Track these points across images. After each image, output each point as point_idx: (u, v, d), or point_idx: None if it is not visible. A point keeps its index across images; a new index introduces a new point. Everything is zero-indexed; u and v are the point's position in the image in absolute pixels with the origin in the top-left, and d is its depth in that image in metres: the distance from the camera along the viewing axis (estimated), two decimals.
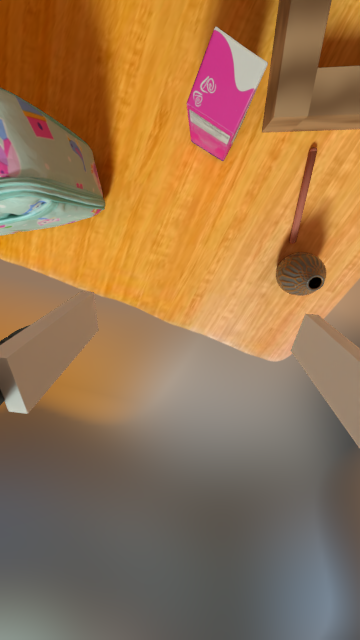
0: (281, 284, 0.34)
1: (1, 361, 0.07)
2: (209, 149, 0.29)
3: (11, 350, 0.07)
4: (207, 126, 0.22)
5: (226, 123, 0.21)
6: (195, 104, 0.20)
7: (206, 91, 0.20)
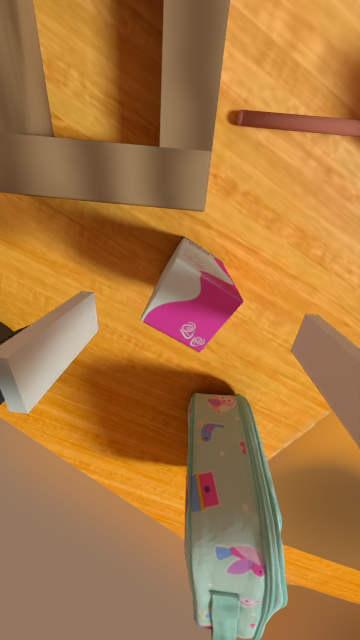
0: None
1: (1, 361, 0.07)
2: None
3: (11, 350, 0.07)
4: None
5: (229, 310, 0.15)
6: (202, 344, 0.16)
7: (192, 332, 0.16)
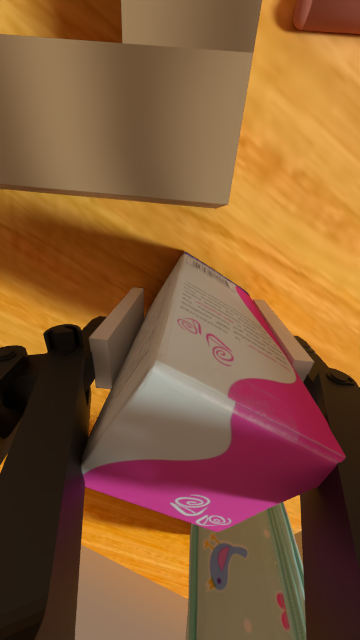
0: None
1: (102, 342, 0.08)
2: None
3: (107, 334, 0.08)
4: None
5: (307, 483, 0.05)
6: (224, 524, 0.07)
7: (203, 508, 0.06)
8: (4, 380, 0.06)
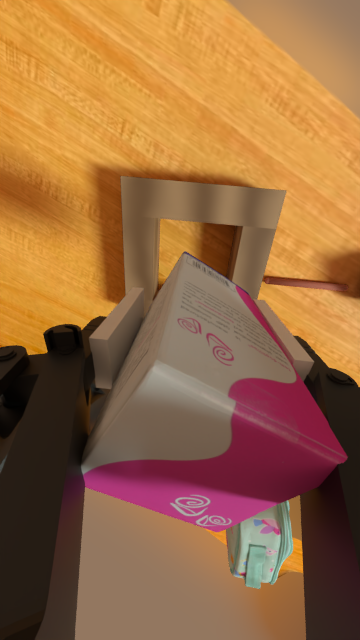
0: None
1: (102, 342, 0.08)
2: None
3: (107, 334, 0.08)
4: None
5: (308, 483, 0.05)
6: (224, 524, 0.07)
7: (203, 509, 0.06)
8: (4, 380, 0.06)
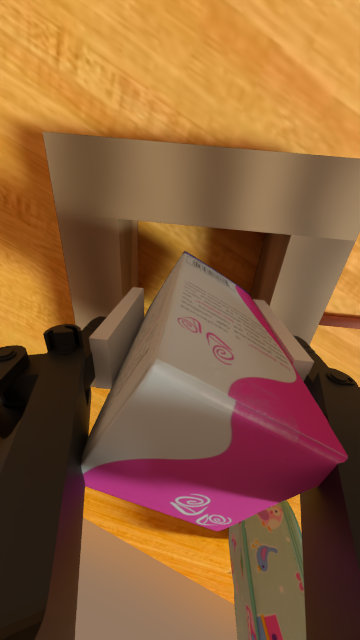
0: None
1: (102, 342, 0.08)
2: None
3: (107, 334, 0.08)
4: None
5: (308, 482, 0.05)
6: (224, 523, 0.07)
7: (203, 508, 0.06)
8: (4, 380, 0.06)
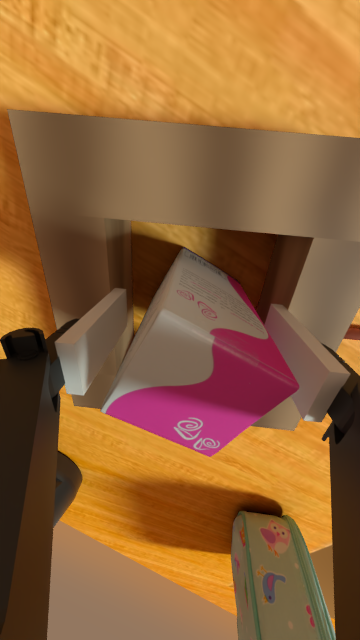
0: None
1: (68, 347, 0.08)
2: None
3: (75, 338, 0.08)
4: None
5: (270, 402, 0.07)
6: (214, 447, 0.09)
7: (198, 432, 0.09)
8: None
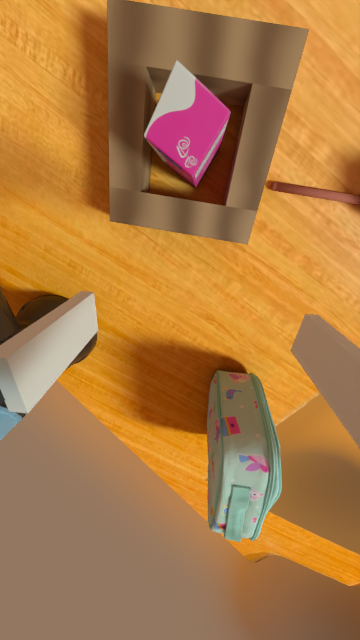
0: None
1: (1, 361, 0.07)
2: (209, 163, 0.27)
3: (11, 350, 0.07)
4: (208, 154, 0.20)
5: (218, 122, 0.18)
6: (194, 165, 0.19)
7: (187, 149, 0.19)
8: None
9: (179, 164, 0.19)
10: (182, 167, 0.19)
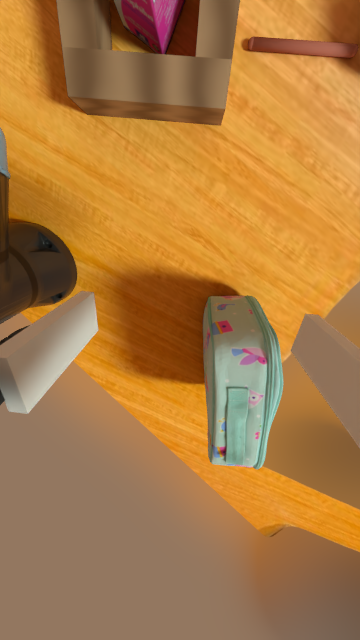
0: None
1: (1, 361, 0.07)
2: (174, 14, 0.23)
3: (11, 350, 0.07)
4: None
5: None
6: None
7: None
8: None
9: None
10: None
